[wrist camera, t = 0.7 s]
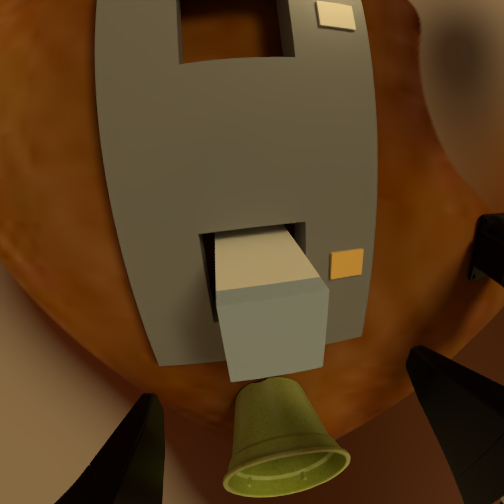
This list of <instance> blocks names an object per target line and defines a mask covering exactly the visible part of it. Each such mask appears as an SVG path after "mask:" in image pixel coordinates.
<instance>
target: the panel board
mask: <svg viewBox="0 0 504 504" xmlns="http://www.w3.org/2000/svg"><path fill="white" fill-rule="evenodd" d="M276 5H277V13H278V21H279V29H280V37H281V46H282V56H283V57H250V58H232V59H220V60H210V61H201V62H193V63H186V64H184V61H183V45H182V26H181V1H180V0H97V6H96V23H95V82H96V99H97V112H98V123H99V132H100V141H101V149H102V156H103V163H104V169H105V176H106V181H107V187H108V193H109V198H110V203H111V208H112V213H113V217H114V222H115V226H116V231H117V235H118V239H119V243H120V247H121V251H122V255H123V259H124V263H125V266H126V270H127V273H128V277H129V280H130V284H131V287H132V290H133V294H134V297H135V300H136V303H137V306H138V309H139V313H140V316H141V318H142V321H143V324H144V327H145V330H146V333H147V336H148V338H149V341H150V344H151V346H152V349H153V352H154V354H155V357H156V359H157V362H158V364H159V366H172V365H186V364H198V363H209V362H218V361H227V360H226V355H225V350H224V345H223V340H222V335H221V329H220V324H219V318H218V313H217V307H216V300H213V296H212V290H211V284H210V278H209V272H208V266H207V260H206V253H205V247H204V240H203V233H211V232H219V231H227V230H235V229H244V228H252V227H261V226H270V225H279V224H288V223H294V240H295V242H296V243H297V244H298V246H299V247H300V249H301V250H302V251H303V253H304V254H305V256H306V257H307V258H308V260H309V261H310V263H311V264H312V266H313V267H314V268H315V270H316V271H317V273H318V274H319V276H320V277H321V278H322V280H323V281H324V283H325V284H326V286H327V287H328V289H329V303H328V316H327V328H326V339H325V344H330V343H335V342H339V341H344V340H348V339H352V338H356V337H360V336H362V331H363V325H364V319H365V313H366V307H367V300H368V293H369V286H370V278H371V269H372V260H373V250H374V238H375V225H376V207H377V171H378V155H377V121H376V104H375V91H374V80H373V70H372V62H371V54H370V47H369V40H368V34H367V28H366V22H365V17H364V12H363V7H362V2H361V0H276Z"/></svg>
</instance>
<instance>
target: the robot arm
mask: <svg viewBox="0 0 504 504" xmlns="http://www.w3.org/2000/svg"><path fill="white" fill-rule="evenodd" d="M487 276H489V277H490V278H492V279H493V280H494V281H496V282H497V283H498V284H500V285H501V286H502V287H504V213H496V214H484V215H482V216H481V218H480V221H479V228H478V234H477V239H476V244H475V249H474V254H473V258H472V263H471V267H470V271H469V275H468V279H469V280H471V281H475V280H478V279H481V278H484V277H487ZM406 369H407V372H408V374H409V377H410V379H411V382H412V385H413V387H414V390H415V392H416V395H417V398H418V400H419V402H420V404H421V406H422V408H423V410H424V412H425V414H426V416H427V418H428V420H429V423H430V424H431V427H432V429H433V431H434V433H435V435H436V437H437V439H438V442H439V444H440V446H441V448H442V450H443V452H444V455H445V457H446V460H447V462H448V464H449V466H450V469H451V471H452V473H453V476H454V478H455V481H456V484H457V486H458V489H459V491H460V494H461V496H462V499H463V502H464V504H492V503H494V502H495V501H497V500H498V499H501V500H502V501H501V502H499V503H498V504H504V386H503V385H501V384H499V383H497V382H495V381H492V380H491V379H489V378H487V377H485V376H483V375H480V374H479V373H477V372H475V371H472V370H470V369H469V368H466V367H465V366H463V365H461V364H459V363H456V362H455V361H453V360H451V359H449V358H447V357H445V356H443V355H441V354H439V353H437V352H435V351H433V350H431V349H429V348H427V347H425V346H423V345H418V346H415V347H412V348H411V350H410V352H409V355H408V358H407V361H406ZM164 460H165V438H164V412H163V408H162V405H161V403H160V401H159V399H158V397H157V396H156V394H155V393H144V394H142V395H141V397H140V398H139V399H138V401H137V402H136V403H135V404H134V406H133V407H132V409H131V410H130V411H129V413H128V414H127V415H126V417H125V418H124V419H123V420H122V422H121V423H120V424H119V426H118V427H117V428H116V430H115V431H114V432H113V434H112V435H111V436H110V438H109V439H108V440H107V442H106V443H105V444H104V446H103V447H102V448H101V449H100V451H99V452H98V453H97V455H96V456H95V457H94V459H93V460H92V461H91V463H90V466H89V465H88V467H87V468H86V469H85V470H84V472H83V473H82V474H81V476H80V477H79V478H78V479H77V480H76V482H75V483H74V484H73V485H72V486H71V487H70V488H69V489H68V490H67V492H66V493H64V494H63V496H61V497H60V498H59V499H58V500H57V501H56V503H54V504H162V495H163V476H164Z"/></svg>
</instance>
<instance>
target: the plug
mask: <svg viewBox="0 0 504 504" xmlns="http://www.w3.org/2000/svg"><path fill="white" fill-rule="evenodd" d="M215 276H216V307H217V313H218V318H219V324H220V329H221V335H222V340H223V345H224V350H225V355H226V360H227V365H228V370H229V375H230V380H231V382H237V381H245V380H252V379H259V378H266V377H272V376H278V375H284V374H289V373H295V372H300V371H305V370H310V369H315V368H319V367H323V359H324V349H325V339H326V328H327V316H328V303H329V289H328V287H327V286H326V284H325V283H324V281H323V280H322V278H321V277H320V276H319V274H318V273H317V271H316V270H315V268H314V267H313V266H312V264H311V263H310V261H309V260H308V258H307V257H306V256H305V254H304V253H303V251H302V250H301V249H300V247H299V246H298V244H297V243H296V242H295V240H294V239H293V237H292V236H291V235H290V233H289V232H288V231H287V229H286V228H285V226H284V225H283V224H279V225H270V226H261V227H252V228H244V229H235V230H227V231H219V232H215Z"/></svg>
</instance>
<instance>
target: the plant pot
mask: <svg viewBox="0 0 504 504" xmlns="http://www.w3.org/2000/svg"><path fill="white" fill-rule="evenodd" d="M349 462H350V455H349V453H348V452H347V451H346V450H345V449H342V448H340V447H339V445H338V444H337V443H336V441H335V440H334V439H332V438H331V437H330V436H329V434H328V433H327V431H326V429H325V428H324V426H323V424H322V423H321V421H320V419H319V417H318V416H317V414H316V412H315V411H314V409H313V407H312V405H311V403H310V402H309V400H308V398H307V396H306V394H305V393H304V391H303V389H302V388H301V386H300V385H299V384H298V383H297V382H296V381H294V380H292V379H289V378H284V377H270V378H267V379H266V380H264V381H261V382H258V383H250V384H249V385H247V386H246V387H244V388H243V389H242V390H241V391H240V392H239V393H238V395H237V397H236V401H235V419H234V436H233V452H232V459H231V461H230V463H229V471H228V473H227V474H226V475H225V477H224V479H223V486H224V488H225V489H226V490H227V491H229V492H231V493H233V494H236V495H240V496H246V497H274V496H281V495H287V494H293V493H296V492H300V491H303V490H307V489H310V488H312V487H315V486H317V485H319V484H322V483H324V482H326V481H328V480H330V479H332V478H334V477H335V476H336V475H338V474H339V473H341V472H342V471H343V470H344V469H345V468H346V467H347V466H348V464H349Z"/></svg>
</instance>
